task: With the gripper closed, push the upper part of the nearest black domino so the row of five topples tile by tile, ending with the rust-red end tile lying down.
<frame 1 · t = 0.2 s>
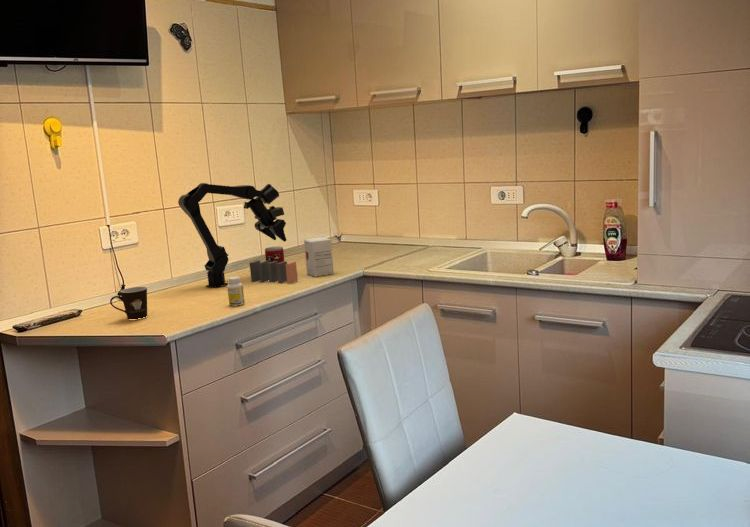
hand: (280, 240, 298), 14 cm above the table, tool tilted 30°, fingers open, 9 cm apart
domino 4: (283, 281, 283), on the table
domino 1: (256, 280, 289), on the table
supplement box: (320, 274, 293), on the table
supplement bottle: (237, 305, 250), on the table
domino 5: (292, 282, 281), on the table
coffee mug: (133, 318, 240), on the table
canned food: (276, 273, 303), on the table
domino 2: (265, 281, 287), on the table
domino 3: (274, 281, 285), on the table
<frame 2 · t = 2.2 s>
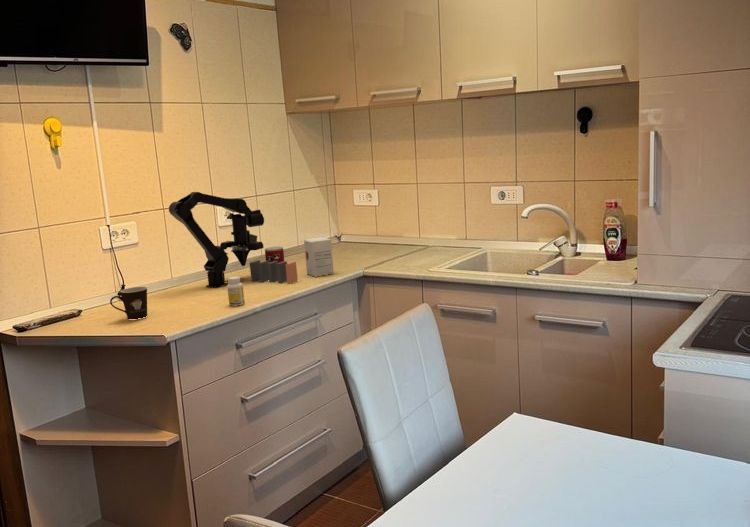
hand: (243, 265, 291), 6 cm above the table, tool pointing down, fingers closed
nothing on the table moved.
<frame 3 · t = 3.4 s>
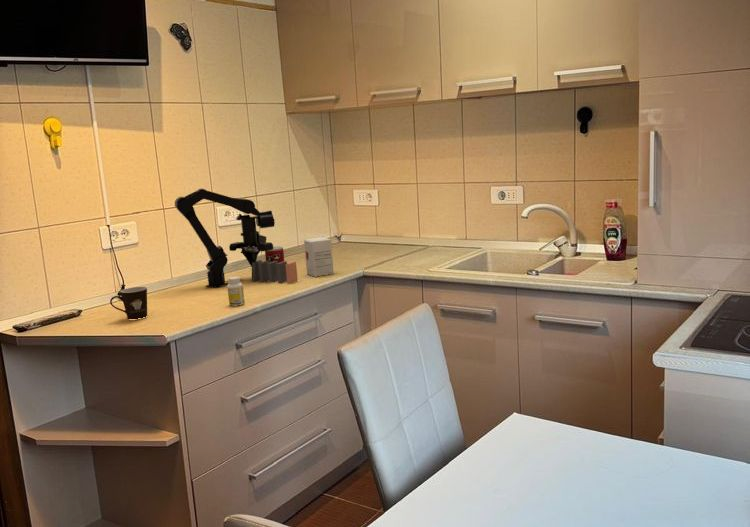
hand: (253, 267, 289), 6 cm above the table, tool pointing down, fingers closed
domino 1: (256, 280, 289), on the table, tilted 9°
everything else where it was.
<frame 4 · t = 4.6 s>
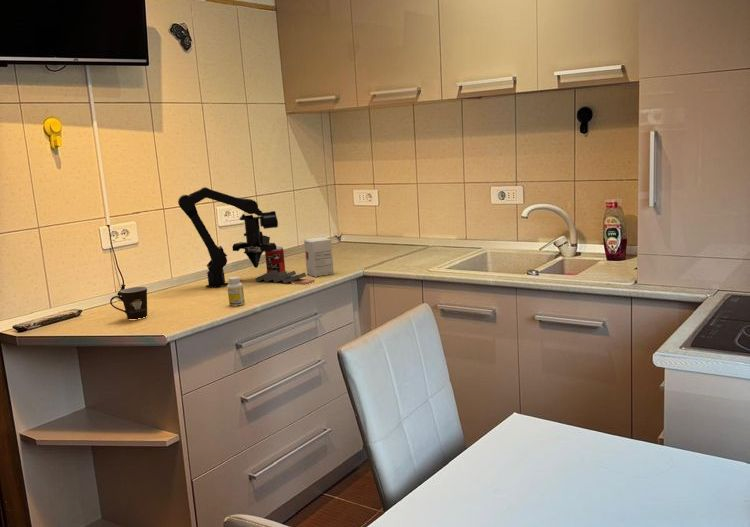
hand: (256, 267, 288), 5 cm above the table, tool pointing down, fingers closed
domino 4: (286, 280, 282), point 1 cm above the table, tilted 74°, touching domino 3
domino 1: (259, 278, 289), point 1 cm above the table, tilted 69°, touching domino 2
domino 5: (294, 282, 280), on the table, tilted 90°
domino 2: (268, 279, 287), point 1 cm above the table, tilted 70°, touching domino 1
domino 3: (277, 279, 284), point 1 cm above the table, tilted 69°, touching domino 4
everything else where it was.
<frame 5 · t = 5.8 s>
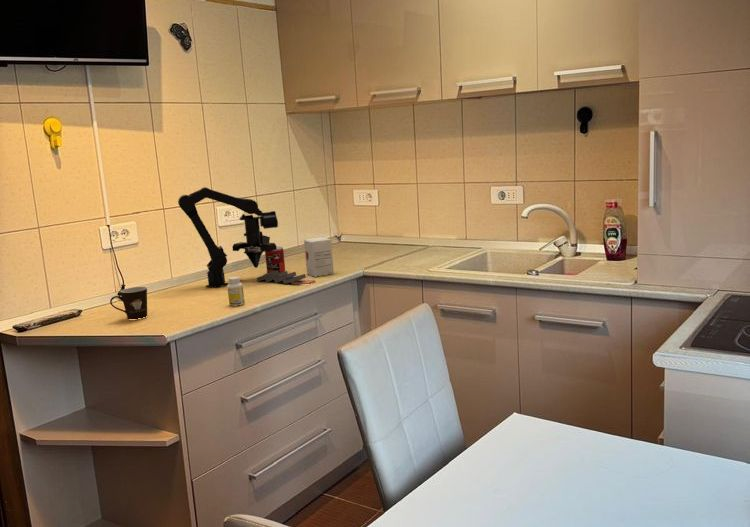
hand: (256, 267, 288), 5 cm above the table, tool pointing down, fingers closed
domino 4: (287, 280, 280), point 1 cm above the table, tilted 76°, touching domino 3, domino 5
domino 5: (295, 282, 280), on the table, tilted 90°, touching domino 4
domino 3: (279, 279, 283), point 1 cm above the table, tilted 70°, touching domino 4
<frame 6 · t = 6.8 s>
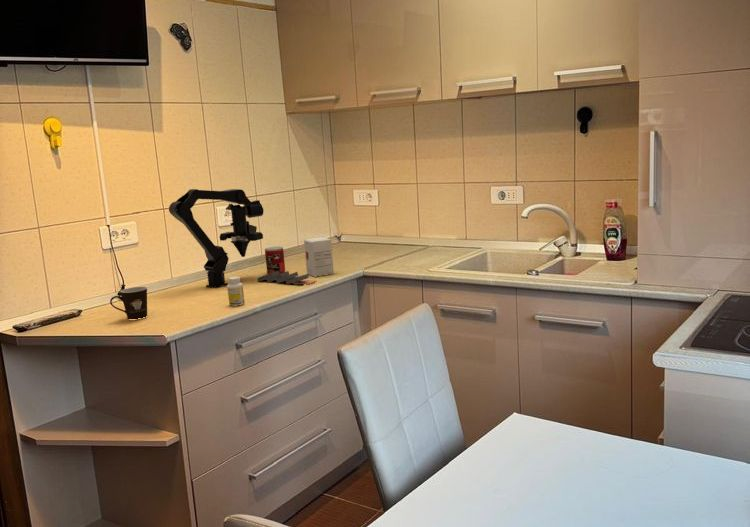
hand: (243, 256, 291), 10 cm above the table, tool pointing down, fingers closed
domino 4: (290, 280, 280), point 1 cm above the table, tilted 76°, touching domino 3, domino 5
domino 2: (271, 279, 286), point 1 cm above the table, tilted 71°, touching domino 1, domino 3
domino 3: (281, 280, 283), point 1 cm above the table, tilted 71°, touching domino 2, domino 4
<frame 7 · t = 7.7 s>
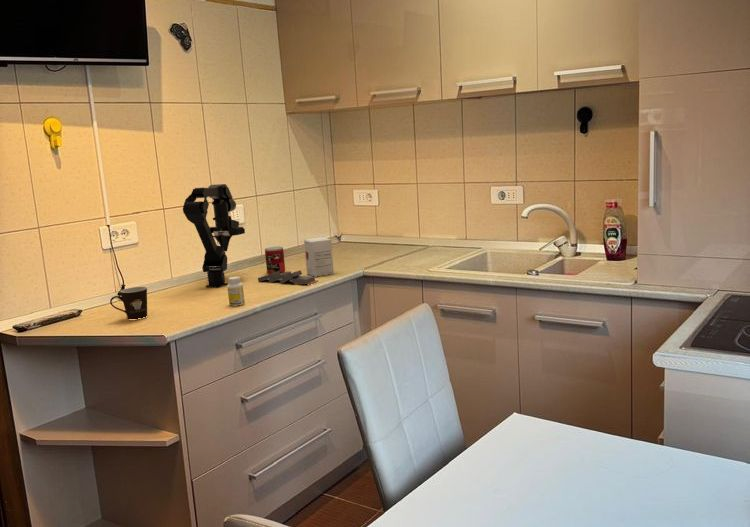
hand: (225, 251, 294), 12 cm above the table, tool pointing down, fingers closed
domino 4: (295, 279, 279), point 2 cm above the table, tilted 90°, touching domino 5
domino 3: (284, 280, 282), point 1 cm above the table, tilted 64°, touching domino 2
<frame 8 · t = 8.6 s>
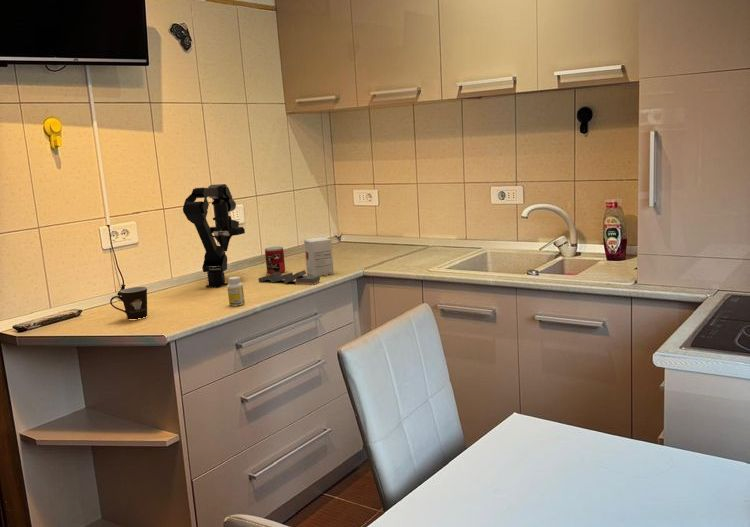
hand: (225, 251, 294), 12 cm above the table, tool pointing down, fingers closed
domino 4: (299, 278, 279), point 2 cm above the table, tilted 90°, touching domino 3, domino 5
domino 1: (262, 279, 288), point 1 cm above the table, tilted 74°
domino 2: (273, 279, 285), point 1 cm above the table, tilted 76°, touching domino 3
domino 3: (287, 280, 281), point 1 cm above the table, tilted 65°, touching domino 2, domino 4
at the end: domino 5 tilted 90°; domino 1 tilted 75° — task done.
